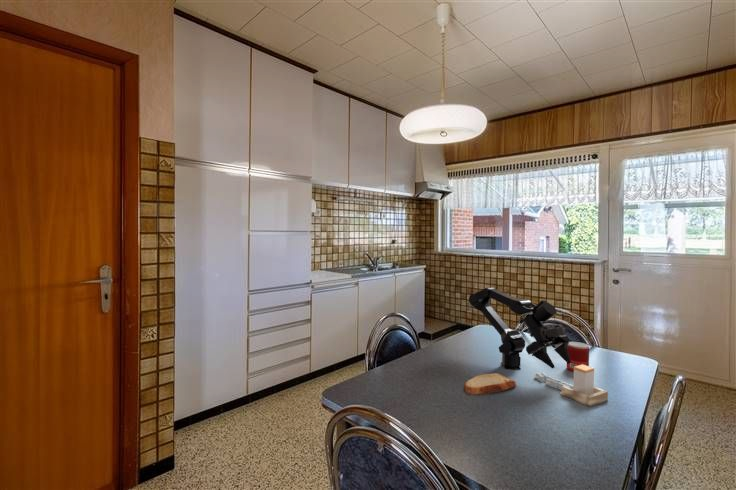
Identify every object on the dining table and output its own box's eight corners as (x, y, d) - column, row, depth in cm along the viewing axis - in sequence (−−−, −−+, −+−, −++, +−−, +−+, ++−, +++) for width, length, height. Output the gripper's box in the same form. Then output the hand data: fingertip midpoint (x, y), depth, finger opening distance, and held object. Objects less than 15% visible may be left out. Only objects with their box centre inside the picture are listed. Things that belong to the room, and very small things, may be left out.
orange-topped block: (573, 394, 122) (573, 366, 121) (581, 391, 124) (582, 364, 124) (584, 399, 118) (585, 370, 118) (593, 396, 120) (594, 368, 120)
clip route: (563, 394, 123) (563, 388, 123) (530, 378, 137) (530, 373, 137) (575, 391, 125) (576, 385, 125) (542, 375, 139) (542, 371, 139)
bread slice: (462, 393, 124) (462, 383, 124) (468, 375, 140) (468, 366, 140) (517, 403, 117) (517, 392, 117) (515, 382, 134) (516, 372, 134)
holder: (559, 393, 123) (559, 385, 123) (577, 388, 128) (577, 380, 128) (589, 406, 114) (589, 397, 114) (607, 400, 119) (607, 391, 119)
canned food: (591, 374, 141) (592, 347, 140) (570, 372, 142) (571, 346, 142) (584, 367, 148) (584, 342, 148) (563, 366, 150) (564, 340, 150)
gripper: (533, 320, 128) (560, 360, 119) (566, 314, 136) (593, 351, 127) (515, 335, 135) (539, 373, 126) (547, 328, 143) (572, 364, 134)
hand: (561, 365), depth 128 cm, fingers open, 9 cm apart
